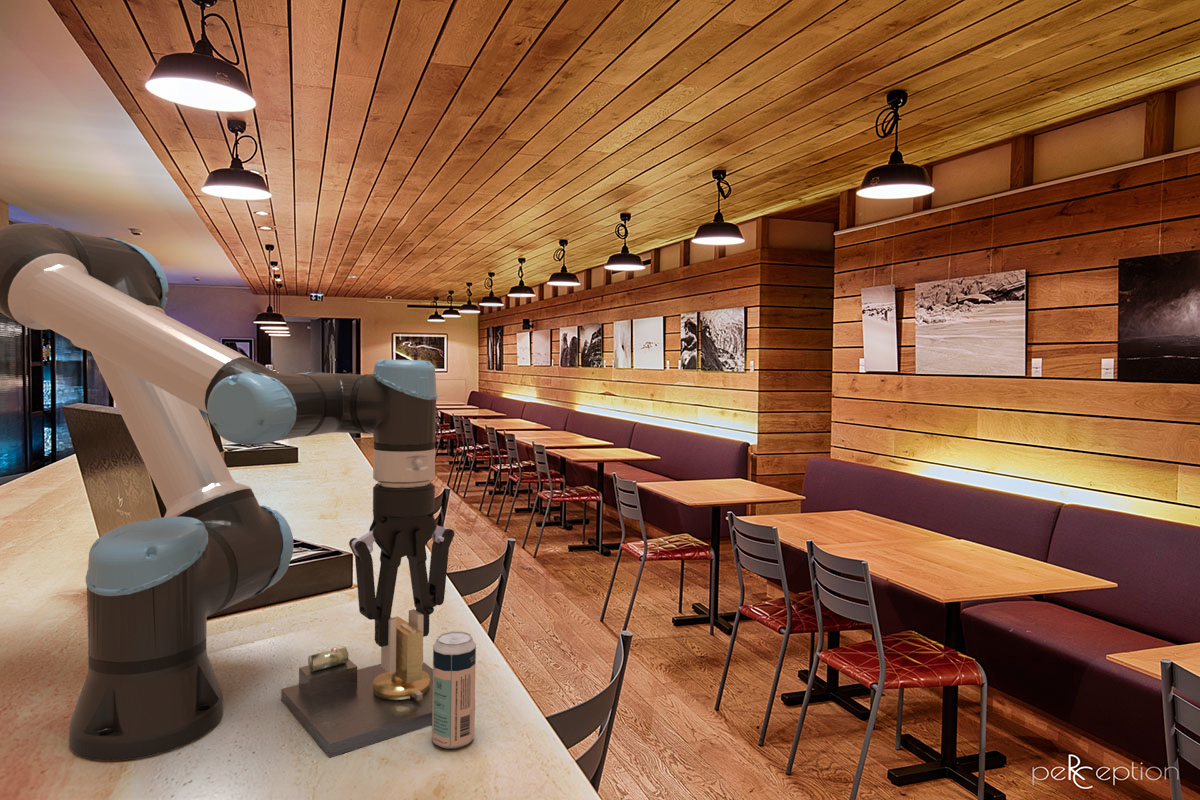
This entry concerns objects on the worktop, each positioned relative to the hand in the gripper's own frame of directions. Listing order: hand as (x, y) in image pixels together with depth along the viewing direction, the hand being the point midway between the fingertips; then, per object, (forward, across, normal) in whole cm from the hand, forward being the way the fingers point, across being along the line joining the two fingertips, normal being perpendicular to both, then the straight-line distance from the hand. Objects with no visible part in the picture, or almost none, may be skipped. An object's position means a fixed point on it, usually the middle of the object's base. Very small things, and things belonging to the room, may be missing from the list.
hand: (402, 665), depth 93 cm
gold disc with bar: (+3, 0, 0) cm, 3 cm away
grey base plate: (+5, -3, 0) cm, 5 cm away
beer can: (+5, 0, -13) cm, 14 cm away
